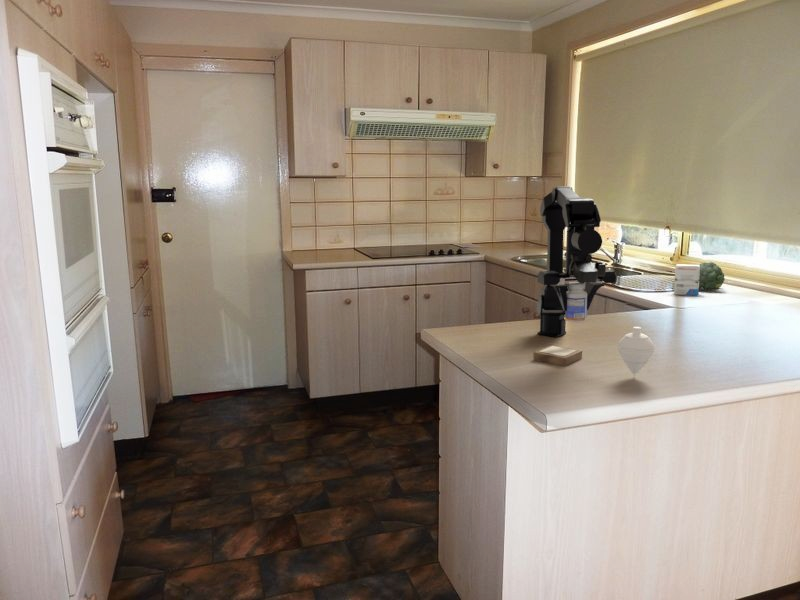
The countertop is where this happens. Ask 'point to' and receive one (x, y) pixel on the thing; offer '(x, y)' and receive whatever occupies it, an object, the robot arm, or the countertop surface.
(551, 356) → the walnut picture frame
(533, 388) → the countertop surface
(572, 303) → the pill bottle
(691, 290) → the ink box
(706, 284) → the vegetable
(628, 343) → the spinning top
